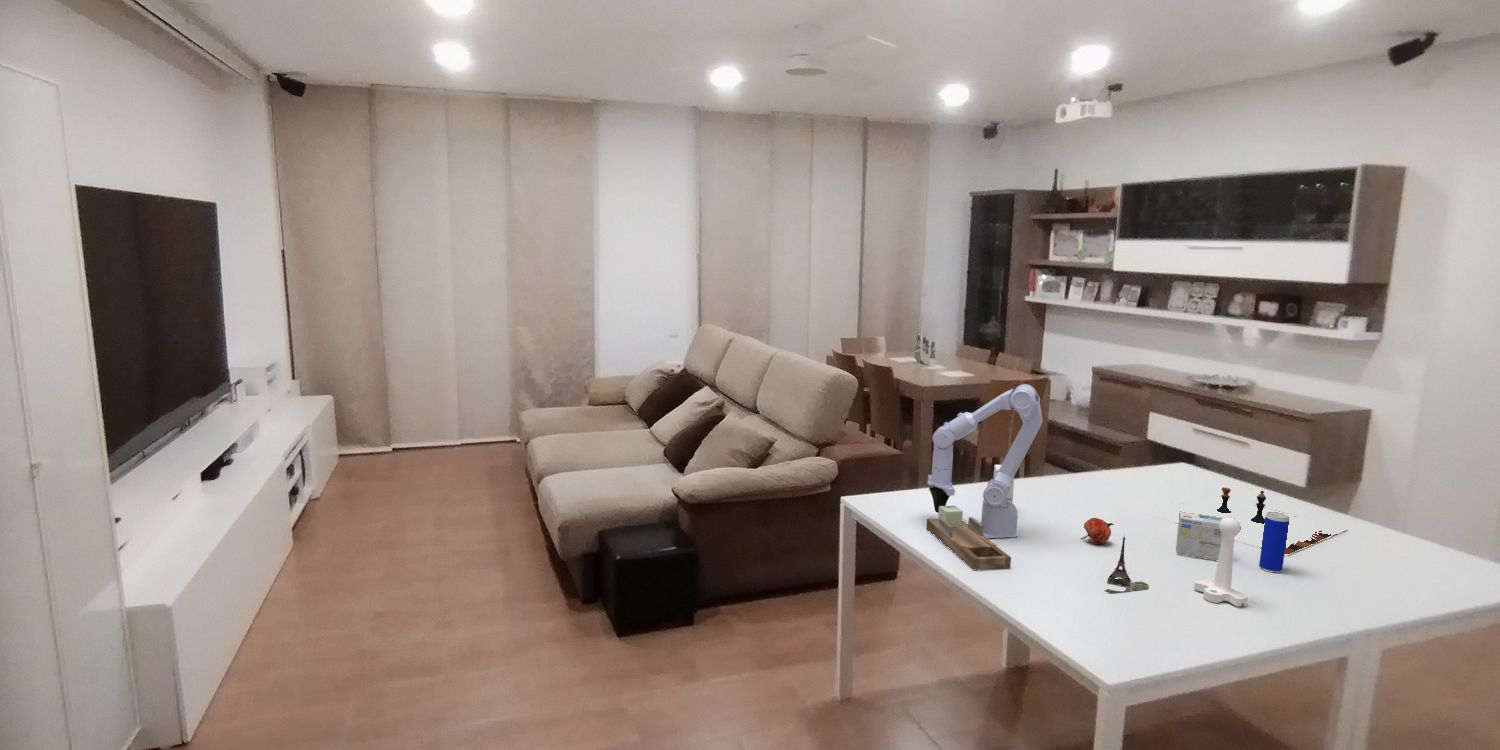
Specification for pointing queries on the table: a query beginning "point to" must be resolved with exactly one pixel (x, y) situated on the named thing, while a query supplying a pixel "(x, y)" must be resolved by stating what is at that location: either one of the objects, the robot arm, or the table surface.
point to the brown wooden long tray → (970, 544)
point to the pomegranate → (1098, 530)
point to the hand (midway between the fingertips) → (939, 511)
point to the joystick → (1223, 569)
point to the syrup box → (1010, 494)
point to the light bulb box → (1199, 535)
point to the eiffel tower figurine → (1124, 577)
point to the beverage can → (1274, 541)
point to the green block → (951, 515)
